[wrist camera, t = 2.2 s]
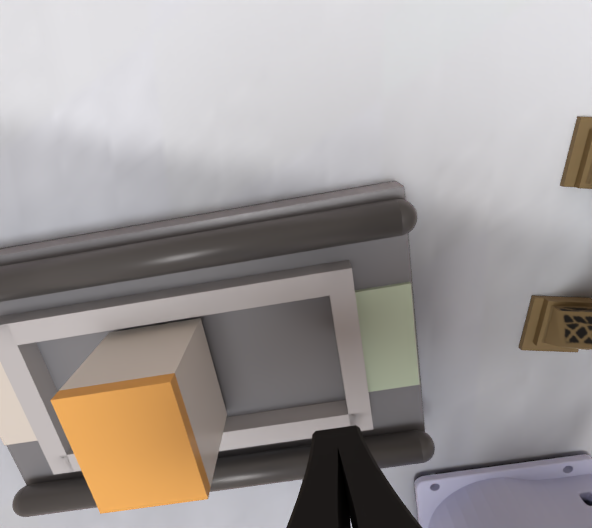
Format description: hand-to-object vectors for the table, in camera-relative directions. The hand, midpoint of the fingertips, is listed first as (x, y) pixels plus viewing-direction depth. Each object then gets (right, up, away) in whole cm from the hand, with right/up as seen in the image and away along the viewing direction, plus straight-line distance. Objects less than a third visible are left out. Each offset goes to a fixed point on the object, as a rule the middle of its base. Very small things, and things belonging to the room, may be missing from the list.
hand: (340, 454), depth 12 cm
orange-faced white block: (-7, +1, +6) cm, 9 cm away
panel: (-6, +1, +8) cm, 10 cm away
